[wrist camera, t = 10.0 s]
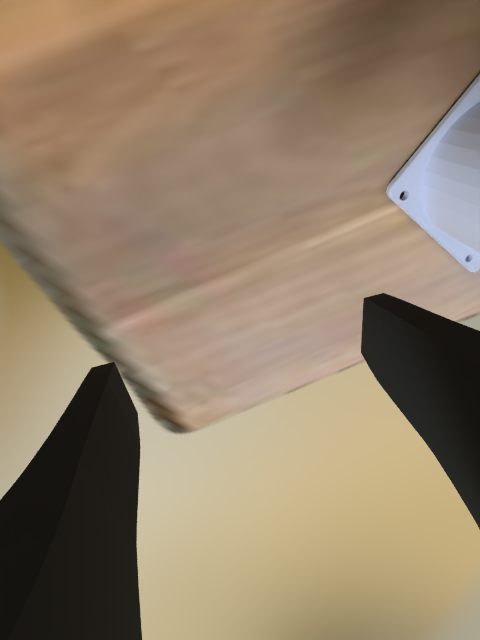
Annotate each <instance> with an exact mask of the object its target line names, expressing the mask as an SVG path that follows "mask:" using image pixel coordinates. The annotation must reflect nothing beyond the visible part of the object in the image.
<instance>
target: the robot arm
mask: <svg viewBox="0 0 480 640" xmlns="http://www.w3.org/2000/svg"><path fill="white" fill-rule="evenodd" d="M403 191H405V192H404V195H403V197H402V198H400V194H401V193H402V192H403ZM386 192H387V195H388V197H389V198H390V199H391V200H392V201H393V202H394V203H396V204H397V205H398V206H399V207H400V208H401V209H402V210H403V211H404V212H405V213H406V214H407V215H409V216H410V217H411V218H412V219H413V220H414V221H415V222H416V223H417V224H418V225H419V226H420V227H422V228H423V229H424V230H425V231H426V232H427V233H428V234H429V235H430V236H431V237H432V238H433V239H434V240H436V241H437V242H438V243H439V244H440V245H441V246H442V247H443V248H444V249H445V250H446V251H447V252H449V253H450V254H451V255H452V256H453V257H454V258H455V259H456V260H457V261H458V262H459V263H460V264H462V265H463V266H464V267H465V268H466V269H467V270H469V271H470V272H472V273H473V272H477V271H479V270H480V74H479V76H478V77H477V78H476V79H475V80H474V82H473V83H472V84H471V85H470V86H469V88H468V89H467V90H466V91H465V93H464V94H463V95H462V96H461V97H460V99H459V100H458V101H457V102H456V103H455V105H454V106H453V107H452V108H451V109H450V111H449V112H448V113H447V114H446V116H445V117H444V118H443V119H442V120H441V122H440V123H439V124H438V125H437V126H436V128H435V129H434V130H433V131H432V133H431V134H430V135H429V136H428V137H427V139H426V140H425V141H424V142H423V143H422V145H421V146H420V147H419V148H418V150H417V151H416V152H415V153H414V154H413V156H412V157H411V158H410V159H409V160H408V162H407V163H406V164H405V165H404V167H403V168H402V169H401V170H400V171H399V173H398V174H397V175H396V176H395V177H394V179H393V180H392V181H391V182H390V184H389V185H388V187H387V190H386ZM467 256H468V257H467ZM466 257H467V258H466ZM361 353H362V355H363V357H364V359H365V360H366V362H367V364H368V366H369V368H370V369H371V371H372V373H373V374H374V376H375V377H376V379H377V381H378V382H379V383H380V385H381V386H382V387H383V389H384V390H385V391H386V392H387V394H388V395H389V396H390V398H391V399H392V400H393V402H394V403H395V404H396V405H397V407H398V408H399V409H400V411H401V412H402V413H403V414H404V415H405V417H406V418H407V419H408V421H409V422H410V423H411V424H412V426H413V427H414V428H415V430H416V431H417V432H418V433H419V435H420V436H421V437H422V438H423V440H424V441H425V442H426V444H427V445H428V447H429V448H430V449H431V451H432V452H433V454H434V455H435V456H436V458H437V460H438V461H439V463H440V464H441V466H442V467H443V469H444V471H445V472H446V474H447V475H448V477H449V478H450V480H451V482H452V483H453V485H454V486H455V488H456V490H457V491H458V493H459V494H460V496H461V498H462V500H463V501H464V503H465V505H466V506H467V508H468V510H469V511H470V513H471V515H472V516H473V518H474V520H475V521H476V523H477V525H478V527H479V529H480V331H478V330H475V329H473V328H470V327H467V326H465V325H462V324H460V323H457V322H454V321H452V320H449V319H447V318H445V317H442V316H440V315H437V314H435V313H432V312H430V311H427V310H425V309H423V308H420V307H418V306H415V305H413V304H411V303H408V302H406V301H403V300H401V299H398V298H396V297H393V296H390V295H387V294H385V293H382V294H378V295H374V296H370V297H367V298H364V303H363V323H362V343H361ZM139 466H140V437H139V424H138V413H137V411H136V409H135V406H134V404H133V402H132V400H131V397H130V395H129V393H128V391H127V389H126V387H125V384H124V382H123V380H122V378H121V376H120V373H119V371H118V369H117V367H116V365H115V363H114V362H112V363H108V364H104V365H100V366H97V367H93V368H91V370H90V371H89V373H88V374H87V376H86V377H85V379H84V381H83V382H82V384H81V386H80V387H79V389H78V390H77V392H76V394H75V395H74V397H73V399H72V400H71V402H70V404H69V405H68V407H67V408H66V410H65V412H64V413H63V415H62V416H61V418H60V420H59V421H58V423H57V424H56V426H55V427H54V429H53V431H52V432H51V433H50V435H49V436H48V438H47V439H46V441H45V442H44V443H43V445H42V447H41V448H40V449H39V451H38V452H37V453H36V455H35V456H34V458H33V459H32V460H31V462H30V463H29V465H28V466H27V467H26V469H25V470H24V471H23V473H22V474H21V475H20V477H19V478H18V479H17V480H16V482H15V483H14V484H13V486H12V487H11V488H10V489H9V490H8V492H7V493H6V494H5V495H4V496H3V498H2V499H1V500H0V640H142V632H141V618H140V603H139V587H138V567H137V548H136V537H137V536H136V535H137V533H136V532H137V508H138V507H137V506H138V487H139V486H138V485H139Z"/></svg>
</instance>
